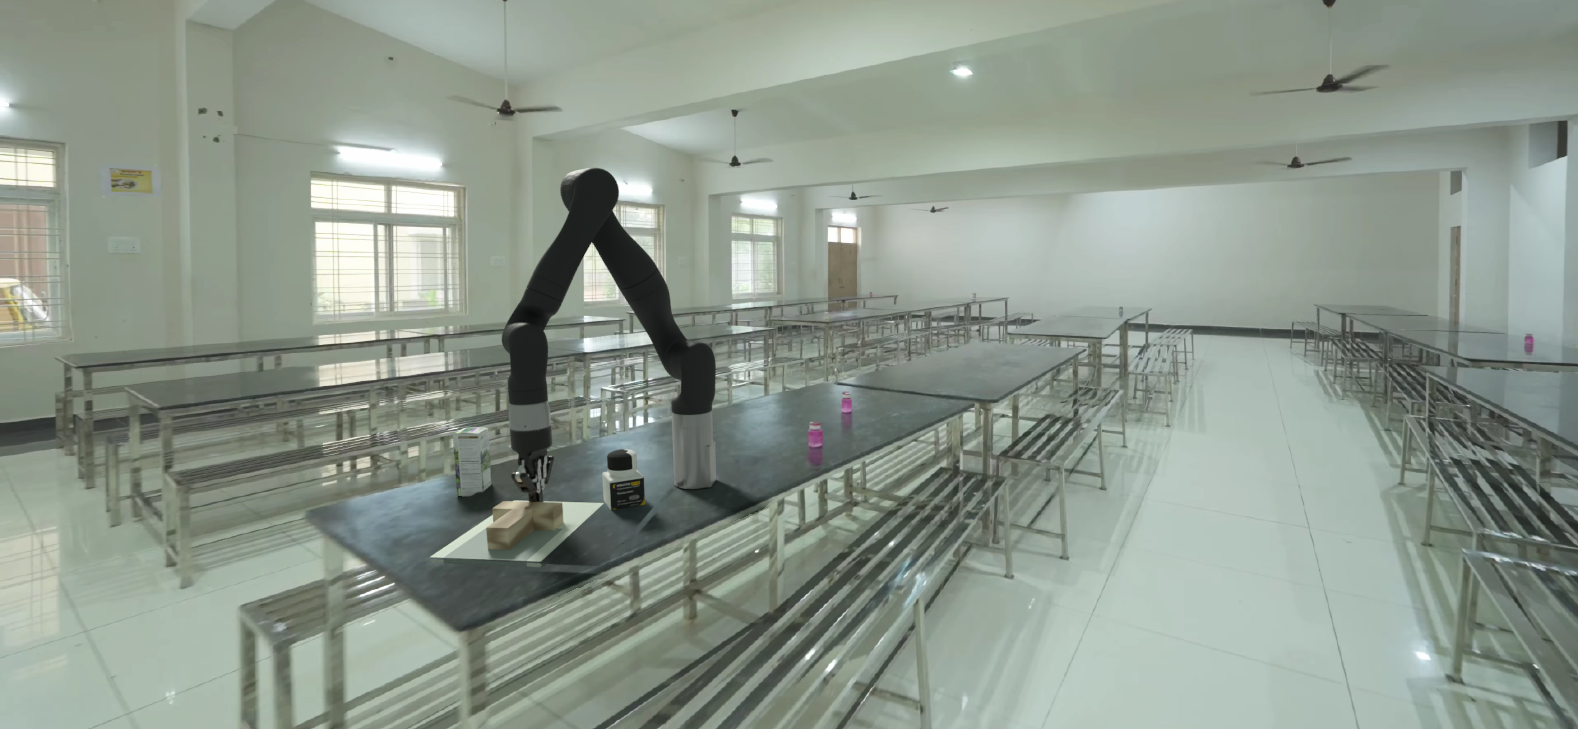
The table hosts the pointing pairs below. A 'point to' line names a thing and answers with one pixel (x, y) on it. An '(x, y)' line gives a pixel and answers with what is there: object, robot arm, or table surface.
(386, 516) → the table surface
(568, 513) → the sage board
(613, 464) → the medicine bottle
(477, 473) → the syrup box
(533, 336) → the robot arm
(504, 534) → the wooden T-block
